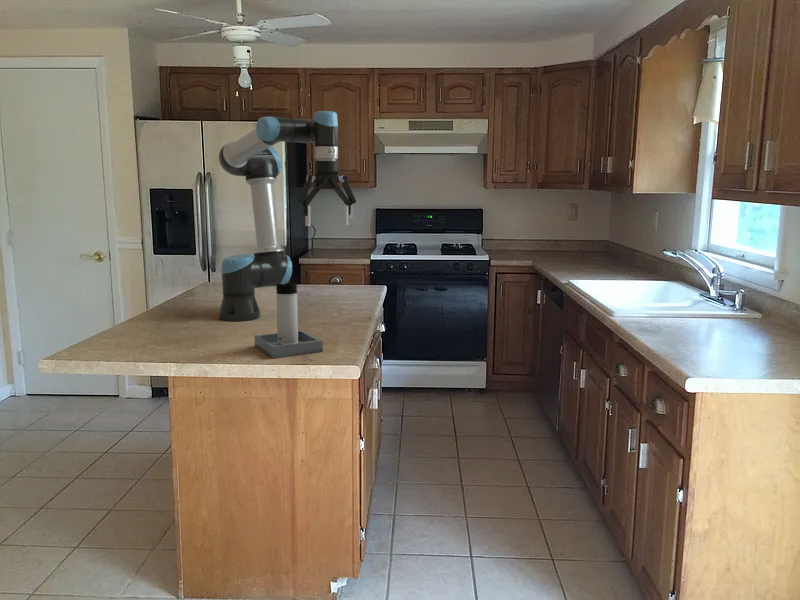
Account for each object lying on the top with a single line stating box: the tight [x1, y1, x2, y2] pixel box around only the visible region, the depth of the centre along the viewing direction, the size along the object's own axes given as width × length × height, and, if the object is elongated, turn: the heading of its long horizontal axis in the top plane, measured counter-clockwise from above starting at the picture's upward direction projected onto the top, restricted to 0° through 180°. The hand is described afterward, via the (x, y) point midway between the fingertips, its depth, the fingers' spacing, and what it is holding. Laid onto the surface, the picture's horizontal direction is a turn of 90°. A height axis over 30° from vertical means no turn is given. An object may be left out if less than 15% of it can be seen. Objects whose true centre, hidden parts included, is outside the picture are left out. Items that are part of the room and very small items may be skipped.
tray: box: [254, 329, 324, 360], centre depth 202 cm, size 16×16×4 cm
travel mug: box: [275, 282, 299, 345], centre depth 200 cm, size 6×7×20 cm
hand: (327, 225), depth 218 cm, fingers open, 13 cm apart
